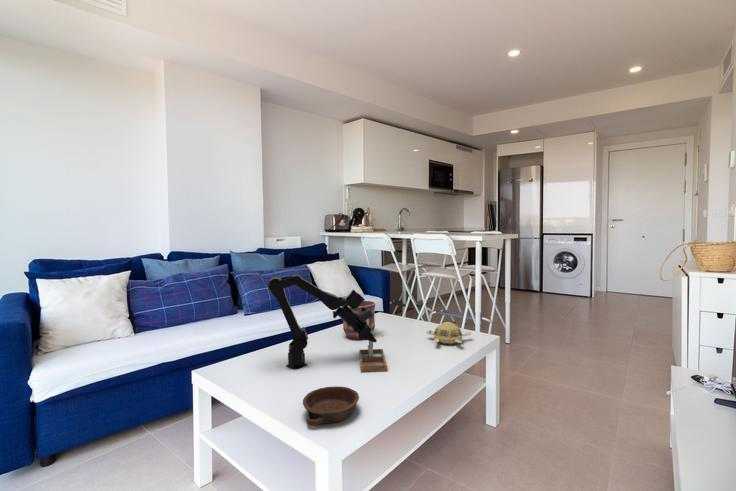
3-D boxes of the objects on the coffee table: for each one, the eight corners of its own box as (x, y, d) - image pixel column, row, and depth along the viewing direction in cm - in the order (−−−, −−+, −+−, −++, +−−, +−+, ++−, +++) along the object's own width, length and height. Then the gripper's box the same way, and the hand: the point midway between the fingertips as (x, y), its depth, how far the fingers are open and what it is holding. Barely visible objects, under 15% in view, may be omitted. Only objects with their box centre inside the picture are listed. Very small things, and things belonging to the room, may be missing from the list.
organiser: (387, 371, 148) (387, 365, 148) (360, 372, 148) (360, 366, 148) (382, 354, 169) (382, 348, 169) (359, 355, 168) (359, 349, 168)
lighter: (368, 355, 166) (367, 336, 167) (371, 354, 166) (371, 336, 167) (370, 357, 159) (369, 338, 160) (374, 357, 159) (373, 337, 160)
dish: (286, 422, 111) (285, 406, 111) (330, 393, 130) (329, 379, 130) (333, 437, 102) (332, 420, 102) (373, 404, 121) (372, 389, 121)
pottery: (375, 341, 188) (375, 306, 188) (341, 341, 189) (340, 307, 188) (375, 332, 206) (375, 300, 205) (344, 332, 206) (343, 300, 206)
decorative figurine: (458, 353, 168) (458, 331, 167) (415, 346, 179) (415, 326, 178) (474, 337, 190) (474, 318, 190) (435, 332, 201) (435, 314, 201)
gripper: (365, 307, 152) (392, 331, 155) (358, 299, 170) (382, 321, 173) (347, 327, 151) (374, 351, 153) (341, 317, 169) (366, 339, 172)
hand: (374, 339), depth 163 cm, fingers open, 5 cm apart
